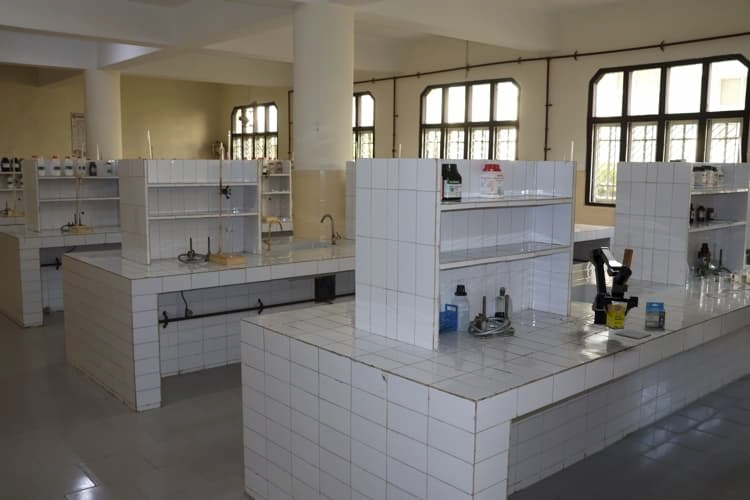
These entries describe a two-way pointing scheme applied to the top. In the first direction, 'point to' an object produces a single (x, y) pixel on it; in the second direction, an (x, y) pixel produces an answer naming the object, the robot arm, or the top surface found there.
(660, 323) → the label tape box
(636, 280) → the top surface
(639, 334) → the mat
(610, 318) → the supplement box
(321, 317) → the top surface
